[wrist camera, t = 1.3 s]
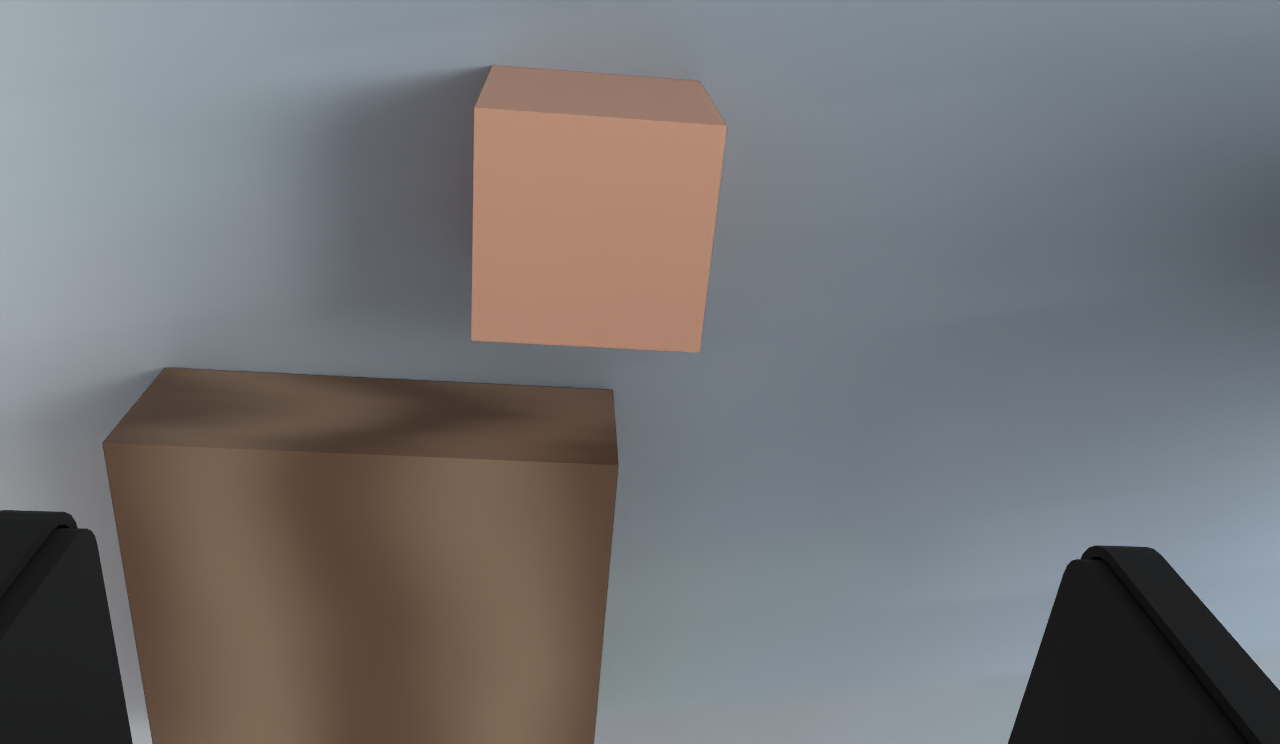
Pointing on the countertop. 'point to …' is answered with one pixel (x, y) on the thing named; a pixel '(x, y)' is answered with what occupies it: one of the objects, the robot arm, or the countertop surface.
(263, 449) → the walnut base
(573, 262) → the terracotta cube
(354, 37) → the countertop surface
